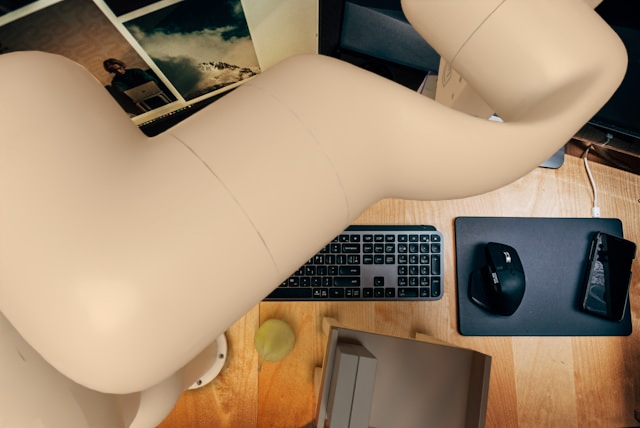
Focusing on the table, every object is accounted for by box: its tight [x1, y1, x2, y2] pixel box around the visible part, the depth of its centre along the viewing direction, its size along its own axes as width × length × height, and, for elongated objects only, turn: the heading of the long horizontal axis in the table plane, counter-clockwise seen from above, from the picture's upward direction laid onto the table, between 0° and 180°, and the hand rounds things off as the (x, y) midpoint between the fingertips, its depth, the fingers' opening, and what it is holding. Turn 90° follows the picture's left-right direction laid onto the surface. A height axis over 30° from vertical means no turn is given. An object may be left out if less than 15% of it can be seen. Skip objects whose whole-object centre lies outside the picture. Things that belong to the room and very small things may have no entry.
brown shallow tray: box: [315, 326, 493, 428], centre depth 53 cm, size 19×11×5 cm, turn 80°
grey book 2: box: [348, 344, 378, 428], centre depth 49 cm, size 2×8×10 cm, turn 170°
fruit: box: [253, 318, 297, 374], centre depth 71 cm, size 7×8×12 cm
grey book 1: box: [326, 342, 359, 428], centre depth 49 cm, size 2×8×10 cm, turn 171°
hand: (441, 114), depth 55 cm, fingers closed on box, 5 cm apart
